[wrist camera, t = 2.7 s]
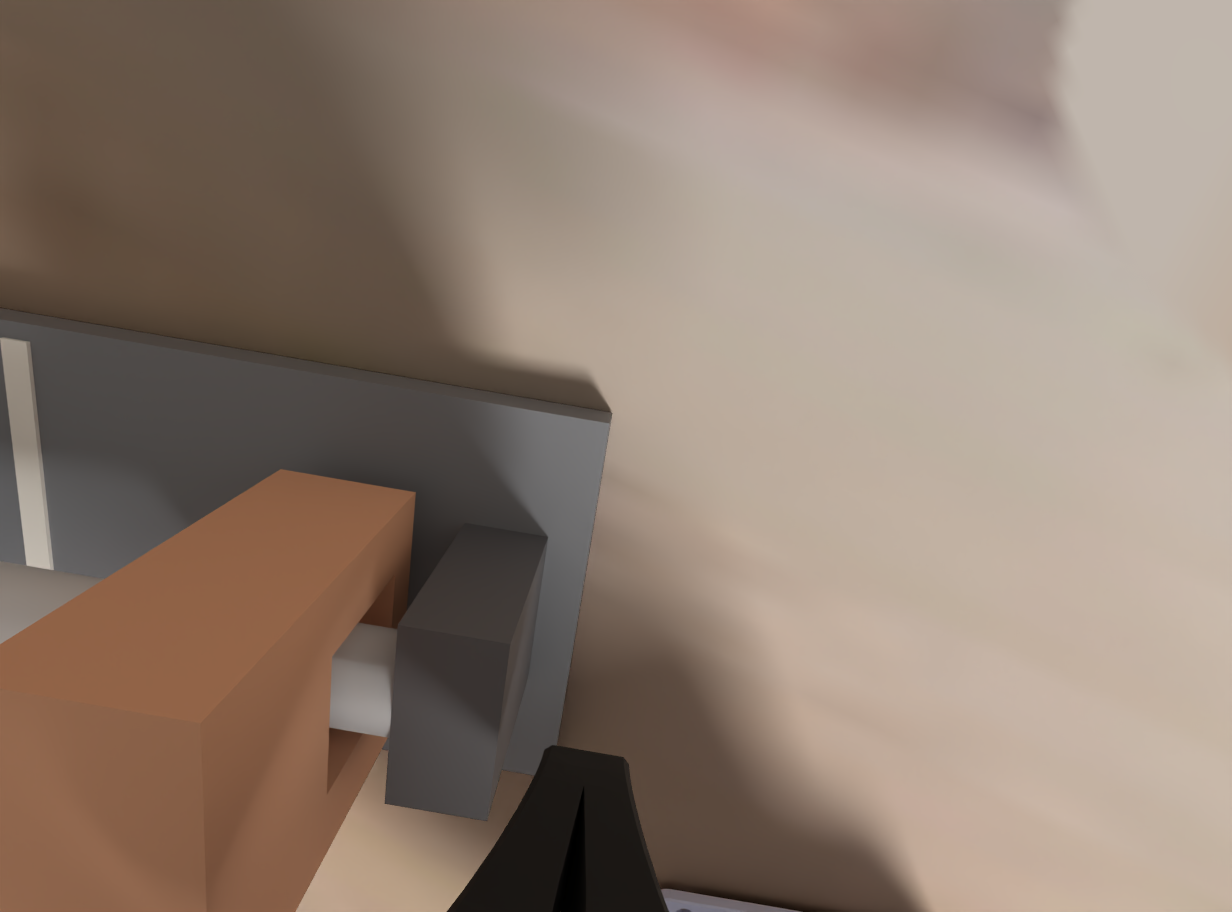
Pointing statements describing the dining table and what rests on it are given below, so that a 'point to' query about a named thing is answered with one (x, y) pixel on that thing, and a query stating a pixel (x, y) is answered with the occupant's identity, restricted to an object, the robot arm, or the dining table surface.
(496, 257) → the dining table surface
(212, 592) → the collar
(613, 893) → the robot arm
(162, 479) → the pipe stand
